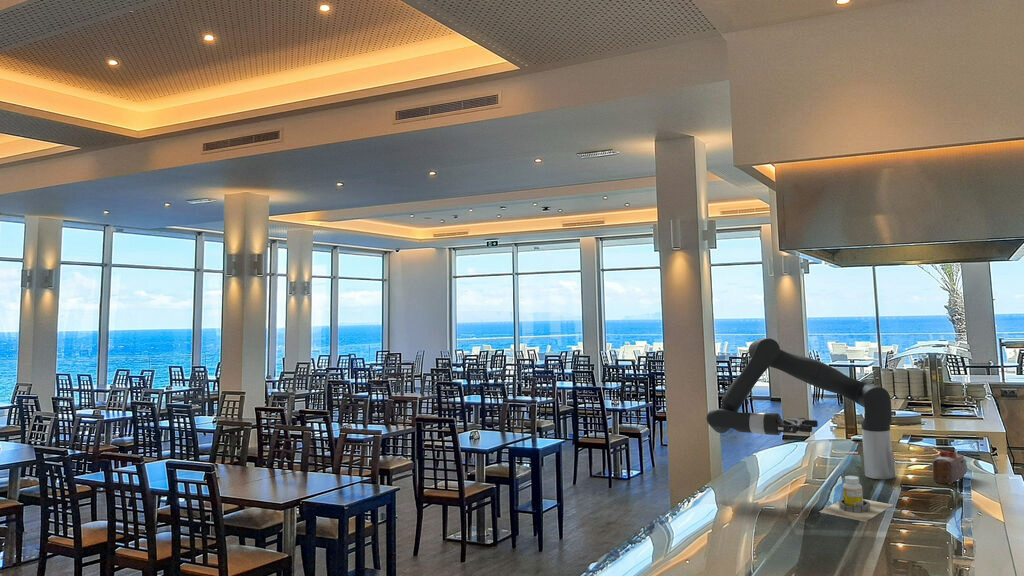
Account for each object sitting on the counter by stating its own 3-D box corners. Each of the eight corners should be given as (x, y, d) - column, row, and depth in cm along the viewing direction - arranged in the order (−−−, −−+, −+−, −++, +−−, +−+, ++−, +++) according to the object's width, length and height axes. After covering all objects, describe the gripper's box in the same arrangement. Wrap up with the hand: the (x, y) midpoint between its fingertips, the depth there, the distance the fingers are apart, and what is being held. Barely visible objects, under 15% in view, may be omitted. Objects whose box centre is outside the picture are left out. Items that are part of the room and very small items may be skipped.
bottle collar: (866, 504, 212) (865, 498, 212) (873, 513, 204) (872, 507, 204) (836, 503, 214) (836, 497, 214) (842, 512, 206) (841, 506, 206)
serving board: (848, 499, 221) (847, 496, 221) (893, 508, 210) (893, 504, 210) (818, 515, 208) (818, 511, 208) (865, 525, 197) (865, 521, 197)
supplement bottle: (861, 511, 206) (859, 480, 206) (842, 509, 209) (840, 478, 209) (865, 506, 210) (863, 476, 210) (846, 504, 213) (844, 474, 213)
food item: (943, 473, 243) (941, 446, 243) (969, 477, 237) (967, 449, 237) (931, 482, 234) (928, 454, 234) (957, 486, 228) (955, 457, 228)
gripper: (758, 416, 229) (809, 419, 220) (770, 409, 241) (818, 411, 231) (760, 438, 229) (811, 441, 220) (771, 430, 241) (820, 433, 231)
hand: (814, 426), depth 225 cm, fingers open, 8 cm apart
